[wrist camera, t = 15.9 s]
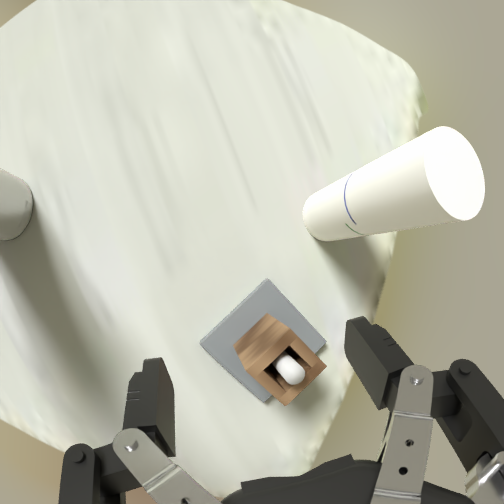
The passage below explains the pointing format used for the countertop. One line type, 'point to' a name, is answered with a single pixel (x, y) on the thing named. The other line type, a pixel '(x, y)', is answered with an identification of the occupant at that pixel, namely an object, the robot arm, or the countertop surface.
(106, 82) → the countertop surface
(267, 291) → the post stand
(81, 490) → the robot arm
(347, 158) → the countertop surface
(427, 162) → the cylindrical container
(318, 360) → the collar
